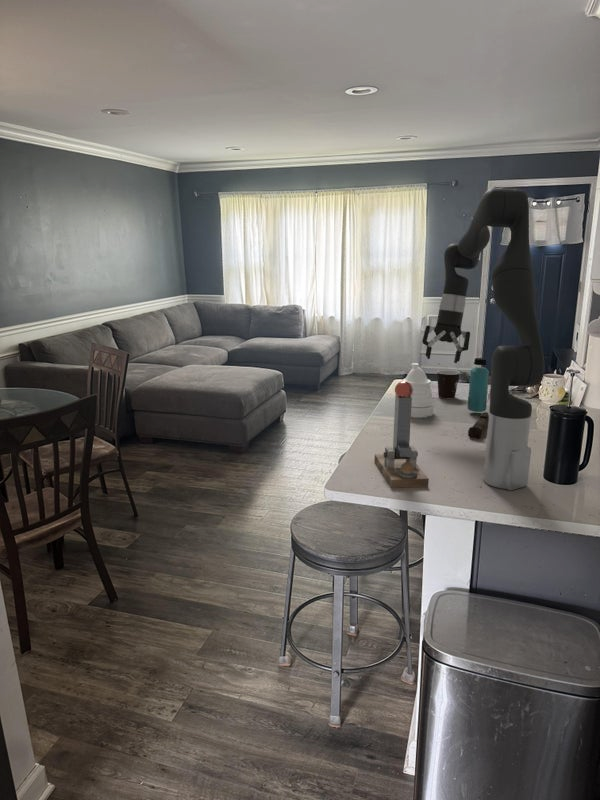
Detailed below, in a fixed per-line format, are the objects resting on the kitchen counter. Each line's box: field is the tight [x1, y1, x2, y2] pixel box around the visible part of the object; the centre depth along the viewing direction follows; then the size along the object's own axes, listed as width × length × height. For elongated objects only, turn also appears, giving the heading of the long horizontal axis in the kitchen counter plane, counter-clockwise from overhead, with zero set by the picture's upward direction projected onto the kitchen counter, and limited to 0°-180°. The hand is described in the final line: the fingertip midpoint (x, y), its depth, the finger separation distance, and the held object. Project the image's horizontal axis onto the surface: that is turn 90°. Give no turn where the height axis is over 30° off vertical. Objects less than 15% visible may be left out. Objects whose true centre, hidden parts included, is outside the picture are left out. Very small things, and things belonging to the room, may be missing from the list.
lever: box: [392, 380, 413, 459], centre depth 133 cm, size 6×4×20 cm
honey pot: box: [401, 362, 435, 418], centre depth 192 cm, size 13×13×18 cm
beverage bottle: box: [467, 357, 490, 413], centre depth 190 cm, size 6×7×20 cm
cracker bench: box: [373, 445, 430, 489], centre depth 136 cm, size 18×9×6 cm, turn 5°
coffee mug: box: [436, 369, 460, 399], centre depth 215 cm, size 12×9×10 cm
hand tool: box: [467, 411, 489, 440], centre depth 172 cm, size 19×4×5 cm, turn 149°
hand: (441, 360), depth 173 cm, fingers open, 8 cm apart
